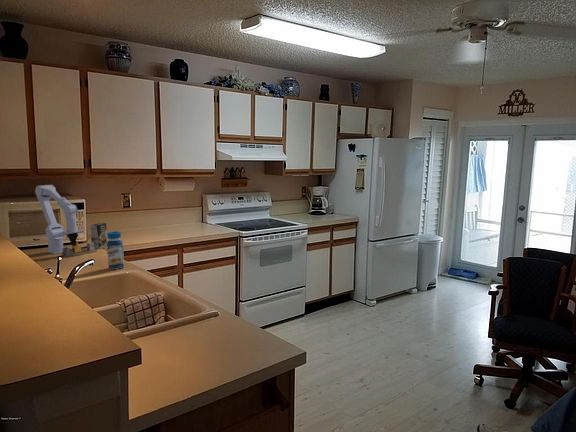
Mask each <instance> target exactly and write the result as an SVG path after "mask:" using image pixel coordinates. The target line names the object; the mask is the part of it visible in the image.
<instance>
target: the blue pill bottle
mask: <svg viewBox="0 0 576 432" xmlns="http://www.w3.org/2000/svg"><path fill="white" fill-rule="evenodd" d="M121 238H122V235H121V231H117V230H116V231H108V232H107V242H108V243H107V247H106V248H107V249H106V252H107V253H106V254H107V263H108V269H109V268H110V269H109V270H111V269H117V270H119V269H118V268H122V267H124V268H125V259H124V258H125V256H124V255H125V254H124V250H125V249H124V247H123V241H122V240H121ZM122 269H123V268H122Z"/></svg>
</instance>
